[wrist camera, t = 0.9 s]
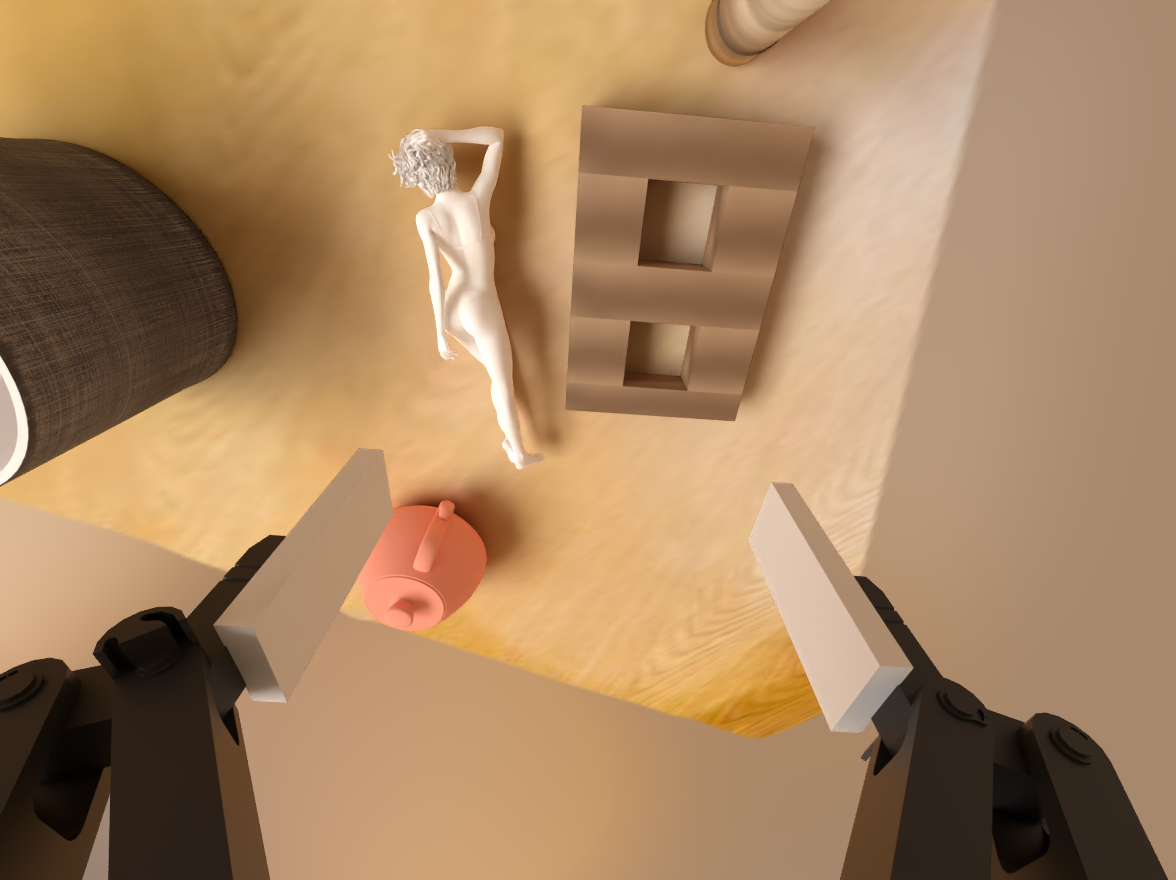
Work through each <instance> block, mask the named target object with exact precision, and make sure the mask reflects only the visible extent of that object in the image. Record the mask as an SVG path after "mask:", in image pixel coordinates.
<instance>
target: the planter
mask: <svg viewBox="0 0 1176 880" xmlns="http://www.w3.org/2000/svg"><path fill="white" fill-rule="evenodd" d="M236 330H237V316H236V308H235V302H234V298H233V294H232V290H231V287H230V284H229V282H228V279H227V276H226V274H225V272H224V270H223V268H222V266H221V264H220V262H219V260H218V258H217V256H216V255H215V253H214V251H213V250H212V248H211V246H210V245H209V244H208V242H207V241H206V239H205V238H204V236H203V235H202V234H201V232H200V231H199V230H198V229H197V227H196V226H195V225H194V224H193V223H192V221H191V220H190V219H189V218H188V217H187V216H186V215H185V214H184V213H183V211H182V210H181V209H180V208H179V207H178V206H177V205H176V204H175V203H174V202H172V201H171V200H170V199H169V198H168V197H167V196H166V195H165V194H164V193H162V192H161V191H160V190H159V189H158V188H156V187H155V186H154V185H152V184H151V183H150V182H149V181H147V180H146V179H144V178H143V177H141V176H140V175H139V174H137V173H135V172H134V171H132V170H131V169H129V168H127V167H126V166H124V165H122V164H120V163H118V162H117V161H115V160H113V159H111V158H109V157H107V156H104V155H102V154H100V153H97V152H95V151H93V150H90V149H87V148H84V147H81V146H78V145H74V144H70V143H66V142H60V141H54V140H45V139H14V138H1V137H0V486H2V485H4V484H6V483H8V482H10V481H12V480H13V479H15V478H17V477H19V476H21V475H23V474H25V473H27V472H29V471H31V470H32V469H34V468H36V467H38V466H40V465H42V464H44V463H46V462H48V461H50V460H51V459H53V458H55V457H57V456H59V455H61V454H63V453H65V452H67V451H68V450H70V449H72V448H74V447H76V446H78V445H80V444H82V443H84V442H86V441H87V440H89V439H91V438H93V437H95V436H97V435H99V434H101V433H103V432H104V431H106V430H108V429H110V428H112V427H114V426H116V425H118V424H120V423H121V422H123V421H125V420H127V419H129V418H131V417H133V416H135V415H137V414H138V413H140V412H142V411H144V410H146V409H148V408H150V407H151V406H153V405H155V404H157V403H159V402H161V401H163V400H164V399H166V398H168V397H170V396H172V395H174V394H176V393H178V392H180V391H182V390H183V389H185V388H187V387H190V386H192V385H194V384H197V383H199V382H201V381H203V380H205V379H207V378H208V377H210V376H211V375H213V374H214V373H215V372H217V371H218V370H219V369H220V368H221V367H222V365H223V364H224V363H225V362H226V360H227V359H228V357H229V355H230V353H231V351H232V348H233V345H234V342H235V337H236Z"/></svg>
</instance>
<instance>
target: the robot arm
mask: <svg viewBox="0 0 1176 880" xmlns="http://www.w3.org/2000/svg"><path fill="white" fill-rule="evenodd" d="M392 516H393V509H392V502H391V496H390V490H389V484H388V478H387V472H386V466H385V460H384V454H383V450H376V449H364V448H359V449H358V450H357V451H356V453H355V454H354V455H353V456H352V457H351V459H350V460H349V461H348V462H347V463H346V465H345V466H344V467H343V468H342V469H341V471H340V472H339V473H338V474H337V476H336V477H335V478H334V479H333V480H332V482H331V483H330V484H329V485H328V486H327V488H326V489H325V490H324V491H323V493H322V494H321V495H320V496H319V497H318V499H317V500H316V501H315V502H314V503H313V505H312V506H311V507H310V508H309V510H308V511H307V512H306V513H305V514H304V516H303V517H302V518H301V519H300V520H299V522H298V523H297V524H296V525H295V527H294V528H293V529H292V530H291V531H290V533H289V534H288V535H287V536H277V535H269V536H267V537H266V538H264V539H263V540H261V541H260V542H258V543H257V544H255V545H254V546H252V547H251V548H249V549H248V550H247V551H246V553H245V554H244V555H243V556H242V557H241V558H240V559H239V560H238V562H237V563H236V564H235V567H232V568H231V569H230V570H229V572H228V573H227V574H226V575H225V576H224V578H223V580H222V581H220V582H219V583H218V584H217V585H216V586H215V587H214V588H213V589H212V591H211V592H210V593H209V594H208V595H207V596H206V597H205V598H204V600H203V601H202V602H201V603H200V604H199V605H198V606H197V607H196V608H195V610H194V611H193V612H192V613H191V614H190V615H189V616H188V617H187V618H185V616H184V614H183V612H182V611H181V610H179V609H176V608H173V607H156V608H152V609H148V610H144V611H141V612H138V613H136V614H134V615H132V616H130V617H128V618H126V619H124V620H122V621H121V622H119V623H118V624H117V625H115V626H114V627H112V628H111V629H109V630H108V631H107V632H106V633H105V634H104V635H103V637H102V638H101V639H100V640H99V641H98V642H97V644H96V647H95V649H94V652H93V655H94V656H95V658H96V659H97V660H98V661H99V663H100V664H101V665H100V666H95V667H90V668H85V669H80V670H75V671H71V670H70V669H69V667H68V666H67V665H66V664H65V663H64V662H63V660H59V659H54V658H45V659H39V660H33V661H30V662H27V663H24V664H22V665H19V666H16V667H14V668H11V669H10V670H8V671H6V672H4V673H2V674H0V880H82V878H83V875H84V872H85V869H86V866H87V862H88V860H89V856H90V853H91V850H92V847H93V844H94V841H95V838H96V835H97V832H98V828H99V825H100V822H101V819H102V816H103V813H104V810H105V807H106V804H107V801H108V798H109V795H110V828H109V829H110V830H109V871H108V880H270V876H269V871H268V867H267V861H266V856H265V851H264V845H263V840H262V834H261V829H260V824H259V819H258V813H257V808H256V803H255V797H254V792H253V787H252V781H251V776H250V771H249V766H248V760H247V755H246V750H245V744H244V740H243V734H242V729H241V723H240V718H239V713H238V709H237V708H236V706H235V702H236V700H237V699H238V697H239V696H240V694H241V693H242V691H243V690H244V688H245V687H246V688H247V690H248V692H249V694H250V696H251V698H252V700H253V701H268V702H287V701H288V700H289V698H290V696H291V694H292V693H293V691H294V689H295V687H296V686H297V684H298V682H299V680H300V679H301V677H302V675H303V673H304V671H305V670H306V668H307V666H308V664H309V662H310V661H311V659H312V657H313V656H314V654H315V652H316V650H317V648H318V647H319V645H320V643H321V641H322V640H323V638H324V636H325V634H326V632H327V631H328V629H329V627H330V625H331V624H332V622H333V620H334V618H335V617H336V615H337V613H338V611H339V610H340V608H341V606H342V604H343V603H344V601H345V599H346V597H347V595H348V594H349V592H350V590H351V588H352V587H353V585H354V583H355V581H356V580H357V578H358V576H359V574H360V572H361V571H362V569H363V567H364V565H365V564H366V562H367V560H368V558H369V557H370V555H371V553H372V551H373V549H374V548H375V546H376V544H377V542H378V541H379V539H380V537H381V535H382V534H383V532H384V530H385V528H386V526H387V525H388V523H389V521H390V519H391V518H392ZM749 543H750V546H751V548H752V550H753V553H754V555H755V557H756V559H757V562H758V564H759V566H760V569H761V571H762V573H763V576H764V578H765V580H766V582H767V585H768V587H769V589H770V592H771V594H772V596H773V599H774V601H775V603H776V605H777V608H778V610H779V612H780V615H781V617H782V619H783V622H784V624H785V626H786V628H787V631H788V633H789V635H790V638H791V640H792V642H793V645H794V647H795V649H796V651H797V654H798V656H799V658H800V661H801V663H802V665H803V667H804V670H805V672H806V674H807V677H808V679H809V681H810V684H811V686H812V688H813V690H814V693H815V695H816V697H817V700H818V702H819V704H820V707H821V709H822V711H823V713H824V716H825V718H826V720H827V723H828V725H829V727H830V730H831V731H838V732H858V733H861V732H862V731H863V729H864V728H865V727H866V726H867V724H868V723H869V722H870V721H871V720H872V721H873V723H874V725H875V727H876V729H877V731H878V733H879V736H878V737H877V738H876V739H875V740H874V742H873V743H872V744H871V745H870V746H869V747H868V749H867V750H866V751H865V752H864V754H863V755H862V757H861V758H862V759H863V760H864V761H866V760H867V759H868V758H869V757H870V756H871V757H870V761H869V765H868V769H867V773H866V777H865V781H864V785H863V789H862V793H861V797H860V801H859V805H858V809H857V813H856V817H855V821H854V825H853V829H852V833H851V837H850V841H849V845H848V849H847V853H846V858H845V862H844V865H843V870H842V873H841V878H840V880H1168V878H1167V876H1166V874H1165V872H1164V870H1163V868H1162V866H1161V864H1160V862H1159V860H1158V858H1157V856H1156V854H1155V852H1154V850H1153V848H1152V845H1151V843H1150V841H1149V840H1148V837H1147V835H1146V833H1145V831H1144V829H1143V827H1142V825H1141V823H1140V821H1139V819H1138V817H1137V815H1136V813H1135V810H1134V809H1133V806H1132V804H1131V802H1130V800H1129V798H1128V796H1127V794H1126V792H1125V790H1124V788H1123V786H1122V784H1121V782H1120V780H1119V778H1118V776H1117V774H1116V771H1115V769H1114V767H1113V765H1112V763H1111V761H1110V760H1109V758H1108V757H1107V755H1106V754H1105V753H1104V751H1103V750H1102V749H1101V747H1100V746H1099V745H1098V744H1097V743H1096V742H1095V741H1094V740H1092V738H1091V737H1090V736H1089V735H1087V734H1086V733H1085V732H1083V731H1082V730H1081V729H1079V728H1078V727H1077V726H1075V725H1074V724H1072V723H1070V722H1068V721H1066V720H1064V719H1063V718H1061V717H1059V716H1055V715H1052V714H1048V713H1036V714H1035V715H1034V716H1033V717H1031V718H1030V719H1029V720H1028V721H1027V722H1026V723H1024V722H1022V721H1019V720H1016V719H1013V718H1010V717H1007V716H1004V715H1002V714H999V713H996V712H993V711H990V710H987V709H986V708H985V706H984V704H982V702H981V701H979V699H977V697H976V696H974V694H973V693H971V692H970V691H968V690H967V689H966V688H964V687H963V686H961V685H960V684H958V683H956V682H953V681H951V680H949V679H946V678H943V677H942V675H941V674H940V673H939V671H938V670H937V669H936V667H935V666H934V664H933V663H932V661H931V660H930V659H929V657H928V656H927V654H926V653H925V651H924V650H923V648H922V647H921V646H920V644H919V643H918V641H917V640H916V638H915V637H914V636H913V634H912V633H911V631H910V630H909V628H908V627H907V626H906V625H904V624H903V622H904V621H903V620H902V618H901V617H900V616H899V614H898V613H897V611H894V607H893V606H892V604H891V603H890V602H889V600H888V599H887V597H886V596H885V594H884V593H883V591H881V590H880V589H879V588H878V587H877V586H876V585H875V584H873V583H872V582H871V581H870V580H869V579H868V578H867V577H862V576H853V575H852V573H851V572H850V570H849V569H848V567H847V566H846V564H845V562H844V561H843V559H842V558H841V556H840V555H839V553H838V552H837V550H836V549H835V547H834V546H833V544H832V543H831V541H830V540H829V538H828V537H827V535H826V534H825V532H824V530H823V529H822V527H821V526H820V524H819V523H818V521H817V520H816V518H815V517H814V515H813V514H812V512H811V511H810V509H809V508H808V506H807V505H806V503H805V502H804V500H803V498H802V497H801V495H800V494H799V492H798V491H797V489H796V488H795V486H794V485H793V484H787V483H775V482H771V484H770V487H769V490H768V492H767V495H766V497H765V500H764V502H763V505H762V508H761V510H760V513H759V515H758V518H757V520H756V523H755V525H754V528H753V531H752V533H751V536H750V538H749Z"/></svg>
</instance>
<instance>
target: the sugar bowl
mask: <svg viewBox="0 0 1176 880" xmlns="http://www.w3.org/2000/svg"><path fill="white" fill-rule="evenodd" d="M454 509H455V505H454V504H453V503H452V502H451V501H448V500H445V501H442V502H441V503H440V505H439V507H433V506H425V505H414V506H405V507H400V508H396V509H393V516H392V518H391V519H390V521H389V523H388V525H387V526H386V528H385V530H384V532H383V534H382V535H381V537H380V539H379V541H378V542H377V544H376V546H375V548H374V549H373V551H372V553H371V555H370V557H369V558H368V560H367V562H366V564H365V565H364V567H363V569H362V571H361V572H360V574H359V576H358V583H359V588H360V593H361V597H362V600H363V602H364V605H365V607H366V609H367V610H368V612H369V613H370V614H371V615H372V616H373V617H374V618H376V619H377V620H378V621H380V622H382V623H383V624H385V625H388V626H390V627H393V628H397V629H401V630H411V631H415V630H423V629H427V628H430V627H433V626H435V625H436V624H438V623H440V622H442V621H443V620H445V619H446V618H447V617H449V616H450V615H451V614H453V613H454V612H455V611H457V610H458V609H459V608H460V607H461V606H462V605H463V604H464V603H465V602H466V601H467V600H468V599H469V598H470V597H471V596H472V594H473V593H474V591H475V590H476V588H477V587H478V585H479V583H480V581H481V579H482V577H483V575H484V572H485V568H486V564H487V555H486V550H485V546H484V544H483V541H482V539H481V538H480V536H479V535H478V533H477V532H476V531H475V530H474V529H473V528H472V526H470V525H469V524H468V523H467V522H466V521H465V520H463V519H462V518H461V517H459V516H457V515H456V514H454V513H453V512H454Z"/></svg>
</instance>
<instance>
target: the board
mask: <svg viewBox="0 0 1176 880" xmlns="http://www.w3.org/2000/svg"><path fill="white" fill-rule="evenodd" d="M814 129H815V127H809V126H799V125H788V124H777V123H767V122H756V121H745V120H734V119H724V118H713V117H702V116H692V115H681V114H670V113H659V112H649V111H638V110H627V109H616V108H606V107H595V106H584V105H582V120H581V138H580V156H579V174H578V193H577V211H576V229H575V247H574V265H573V283H572V301H571V319H570V337H569V355H568V374H567V392H566V410H576V411H591V412H606V413H620V414H635V415H650V416H665V417H680V418H695V419H709V420H724V421H735V419H736V415H737V411H738V408H739V404H740V400H741V397H742V393H743V389H744V386H745V382H746V378H747V375H748V371H749V367H750V364H751V360H752V356H753V353H754V349H755V345H756V342H757V338H758V334H759V331H760V327H761V323H762V320H763V316H764V312H765V309H766V305H767V301H768V298H769V294H770V290H771V287H772V283H773V279H774V276H775V272H776V268H777V265H778V261H779V258H780V254H781V250H782V247H783V243H784V239H785V236H786V232H787V228H788V225H789V221H790V217H791V214H792V210H793V206H794V203H795V199H796V195H797V192H798V188H799V184H800V181H801V177H802V173H803V170H804V166H805V162H806V159H807V155H808V151H809V148H810V144H811V140H812V137H813V133H814ZM648 179H651V180H662V181H673V182H685V183H696V184H708V185H718V186H717V191H716V197H715V202H714V207H713V212H712V217H711V222H710V228H709V233H708V238H707V243H706V248H705V254H704V259H703V264H702V265H698V264H685V263H673V262H661V261H648V260H638V258H639V250H640V241H641V233H642V225H643V217H644V209H645V201H646V193H647V185H648ZM631 321H639V322H652V323H665V324H678V325H691V326H690V331H689V337H688V342H687V347H686V352H685V357H684V363H683V368H682V373H681V377H680V376H666V375H652V374H638V373H624V371H625V363H626V355H627V347H628V338H629V330H630V322H631Z"/></svg>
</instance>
